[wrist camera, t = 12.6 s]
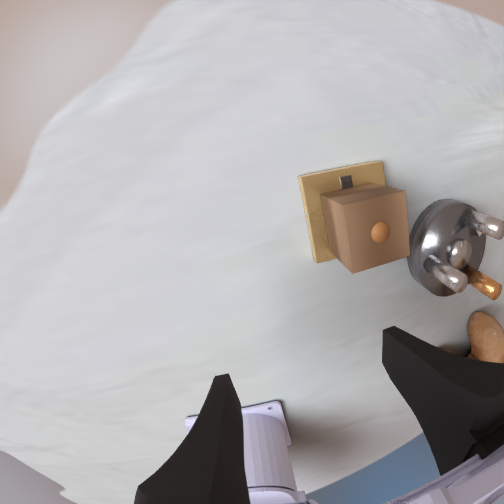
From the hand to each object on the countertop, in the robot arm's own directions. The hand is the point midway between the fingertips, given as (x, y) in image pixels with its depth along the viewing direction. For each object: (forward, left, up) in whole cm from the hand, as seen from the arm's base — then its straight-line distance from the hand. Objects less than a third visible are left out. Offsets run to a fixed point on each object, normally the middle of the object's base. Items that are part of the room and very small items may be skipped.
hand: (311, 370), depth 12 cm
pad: (+6, +4, -10) cm, 12 cm away
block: (+6, +4, -9) cm, 11 cm away
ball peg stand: (+15, -1, -10) cm, 18 cm away
